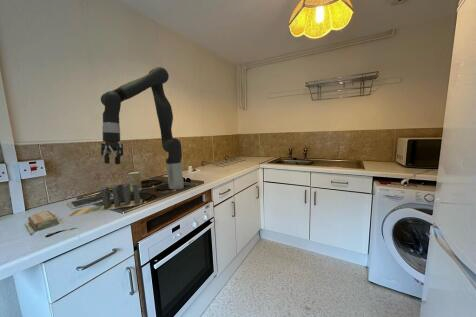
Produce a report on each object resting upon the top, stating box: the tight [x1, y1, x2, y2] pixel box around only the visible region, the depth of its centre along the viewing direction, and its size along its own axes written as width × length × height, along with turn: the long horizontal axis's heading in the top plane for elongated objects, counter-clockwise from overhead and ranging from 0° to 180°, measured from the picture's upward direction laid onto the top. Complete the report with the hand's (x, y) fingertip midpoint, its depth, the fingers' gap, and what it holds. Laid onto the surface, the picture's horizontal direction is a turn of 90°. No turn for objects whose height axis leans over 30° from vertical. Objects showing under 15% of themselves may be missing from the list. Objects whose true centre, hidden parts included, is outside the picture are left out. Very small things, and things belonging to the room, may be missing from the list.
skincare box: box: [127, 171, 143, 193], centre depth 126 cm, size 6×4×12 cm
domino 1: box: [100, 186, 112, 209], centre depth 95 cm, size 2×5×10 cm, turn 21°
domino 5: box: [133, 183, 141, 205], centre depth 100 cm, size 2×5×10 cm, turn 22°
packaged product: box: [24, 209, 65, 236], centre depth 82 cm, size 18×5×10 cm
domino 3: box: [117, 183, 131, 202], centre depth 105 cm, size 2×5×10 cm, turn 112°
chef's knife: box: [44, 227, 76, 238], centre depth 79 cm, size 19×1×3 cm
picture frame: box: [66, 190, 114, 210], centre depth 109 cm, size 16×3×21 cm
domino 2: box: [111, 184, 122, 207], centre depth 97 cm, size 2×5×10 cm, turn 22°
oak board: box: [68, 198, 143, 217], centre depth 96 cm, size 30×8×1 cm, turn 112°
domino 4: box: [123, 183, 132, 207], centre depth 99 cm, size 2×5×10 cm, turn 22°
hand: (112, 163), depth 98 cm, fingers open, 8 cm apart
